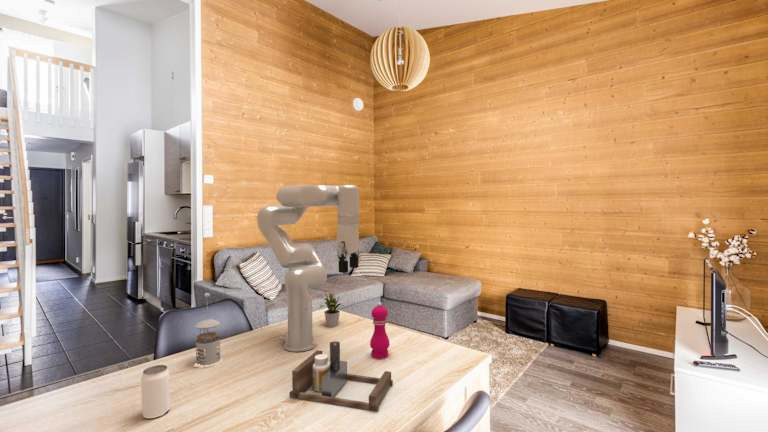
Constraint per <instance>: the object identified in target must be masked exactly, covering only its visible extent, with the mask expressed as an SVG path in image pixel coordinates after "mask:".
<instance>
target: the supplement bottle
mask: <svg viewBox="0 0 768 432" xmlns="http://www.w3.org/2000/svg"><path fill="white" fill-rule="evenodd" d="M329 370H330V361H329V356H328V354H325V353H324V354H323V353H322V354H319V355H316V356H315V363H314V364H313V385H312V389H313V390H314V391H315V392H321V393H322V377H323V376H324V375H325V374H326V373H327V372H328V371H329Z"/></svg>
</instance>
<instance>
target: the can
mask: <svg viewBox="0 0 768 432" xmlns="http://www.w3.org/2000/svg"><path fill="white" fill-rule="evenodd" d="M140 380H141V387H140V388H141V413H142V415H143V416H145V417H154V416H158V415H161V414H164V413H165V412H167V411H168V410H169V409H170V410H171V392H170V390H171V388H170V385H171V384H170V383H171V382H170V372H169V369H168V365H164V364H156V365H152V366H150V367H147V368H145V369H144V370H143V371H142V376H141V379H140ZM170 410H169V411H170ZM169 411H168V412H169ZM143 416H142V417H143Z"/></svg>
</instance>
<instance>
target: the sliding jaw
mask: <svg viewBox="0 0 768 432" xmlns="http://www.w3.org/2000/svg"><path fill="white" fill-rule="evenodd" d="M329 363H330V370H329V371H328V372H327V373H326V374H325V375H324V376H323V377H322V392H321V395H322V396H329V397H335V396H336V394H337V393H338V392H339V391H340V390H341V389H342V388H343V386H344V385H345V384H346V383H347V381H348V380H347V374H348V361H344V360H341V342H340V341H334V340H333V341H331V342H329Z"/></svg>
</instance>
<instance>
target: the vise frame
mask: <svg viewBox="0 0 768 432" xmlns="http://www.w3.org/2000/svg"><path fill="white" fill-rule="evenodd" d="M319 354H323V350H316V351H314V352H313V353H312V354H310V355H309V356H308V357H307V358H305V360H303V361H302V362H300V363H299V365H297V366H296V367H294V369H292V371H291V374H292V375H291V376H292V377H291V379H292V381H291V382H292V385H291V386H292V387H291V388H292V390H290V391H289V393H288V394H289V398H291V399H297V400H303V401H305V400H306V401H309V402H317V403H322V404H326V405H327V404H329V405H334V406H335V405H336V406H340V407H345V408H347V407H348V408H353V409H359V410H365V411H372V412H377V413H378V412H379V409H380V405H381V404H382V401H383V400H384V398H385V396H386V395H387V393H388V391H389V389H390V388H391V387H393V385H394V379H392V371H388V370H387V371H386V370H385V371H384V372H383V374H382V375H381V376H380V377H373V376H366V375H359V374H351V373H347V381H351V382H358V383H359V382H360V383H367V384H371V385H372V384H374V385H375V386H374V387H373V389H372V390H371V392H370V393H369V395H368V402H365V401H360V400H353V399H348V398H340V397H335V396H334V397H329V396H322V394H315V393H308V392H307V391H308V390H309V389H310V388H311V387H313V364H314V363H315V356H316V355H319Z"/></svg>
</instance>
